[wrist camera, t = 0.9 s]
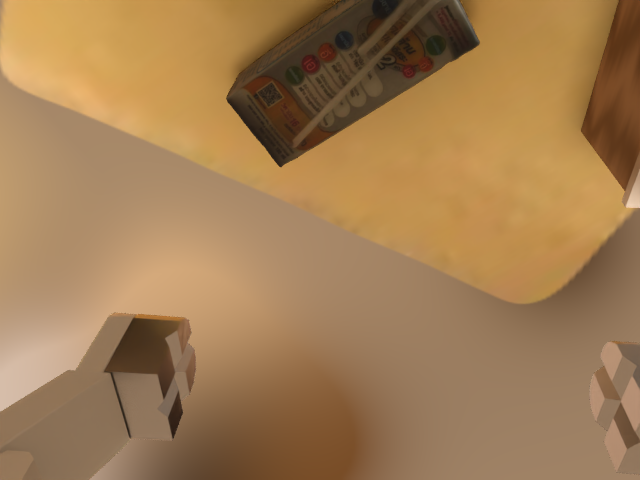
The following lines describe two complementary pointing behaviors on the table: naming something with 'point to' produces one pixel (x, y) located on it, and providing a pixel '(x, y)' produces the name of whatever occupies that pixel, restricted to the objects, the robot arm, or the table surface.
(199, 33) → the table surface
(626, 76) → the display block
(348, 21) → the beverage carton
